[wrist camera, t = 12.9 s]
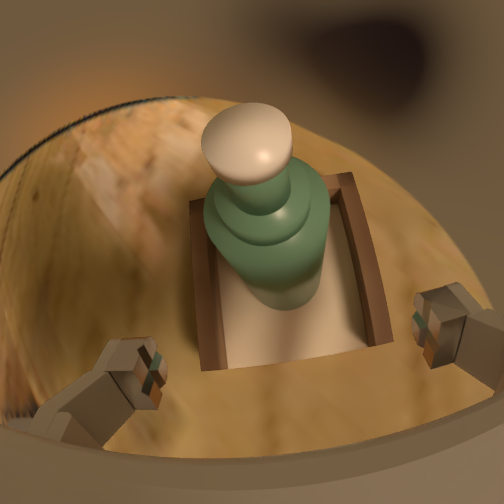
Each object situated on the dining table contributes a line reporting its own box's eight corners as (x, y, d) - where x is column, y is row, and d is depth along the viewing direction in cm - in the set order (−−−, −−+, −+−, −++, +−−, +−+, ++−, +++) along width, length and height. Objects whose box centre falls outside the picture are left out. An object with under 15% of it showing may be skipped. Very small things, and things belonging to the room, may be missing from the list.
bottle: (263, 321, 22) (179, 245, 8) (240, 257, 24) (150, 114, 10) (331, 294, 22) (372, 172, 7) (304, 232, 24) (292, 62, 9)
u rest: (216, 369, 22) (201, 371, 19) (203, 221, 27) (189, 201, 23) (380, 344, 21) (393, 341, 18) (347, 195, 25) (351, 171, 22)
